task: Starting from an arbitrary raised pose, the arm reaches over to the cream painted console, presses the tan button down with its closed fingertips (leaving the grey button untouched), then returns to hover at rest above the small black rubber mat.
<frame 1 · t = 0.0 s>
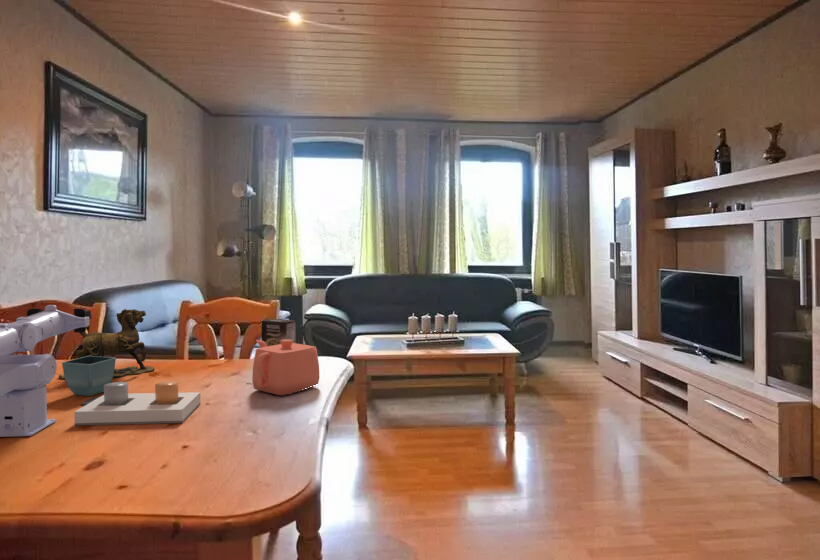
hand: (72, 314, 125), 22 cm above the table, tool horizontal, fingers open, 7 cm apart
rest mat: (99, 401, 127), on the table
console: (141, 414, 118), on the table
grey button: (116, 393, 117), point 5 cm above the table, slide at 0.0 cm
tan button: (166, 392, 118), point 5 cm above the table, slide at 0.0 cm
figurine: (108, 375, 155), on the table
coffee box: (278, 370, 164), on the table
teapot: (279, 388, 143), on the table
flower pot: (90, 394, 134), on the table
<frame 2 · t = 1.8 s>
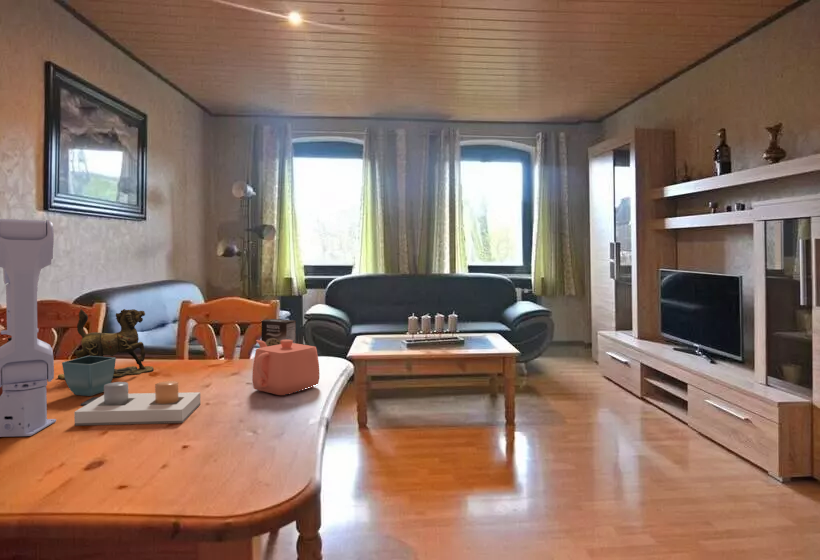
hand: (23, 368, 120), 9 cm above the table, tool pointing down, fingers open, 5 cm apart
nothing on the table moved.
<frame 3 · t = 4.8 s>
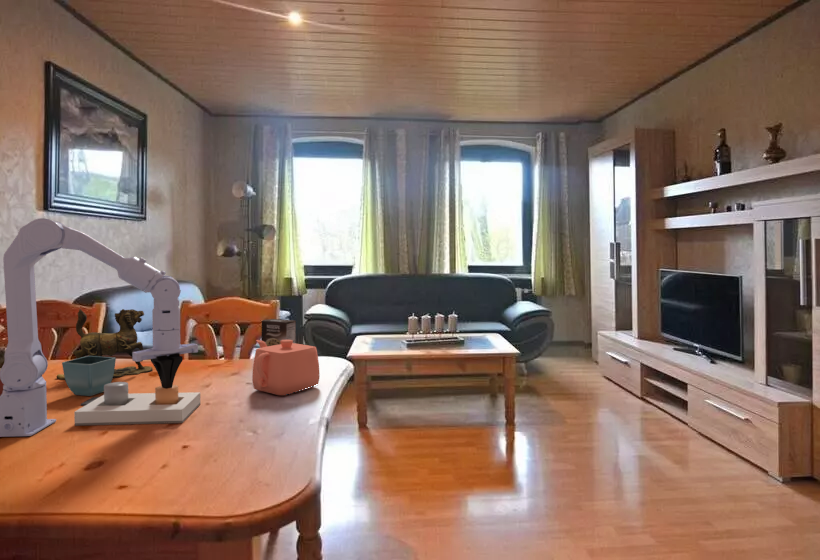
hand: (167, 387, 118), 6 cm above the table, tool pointing down, fingers closed, pressing on tan button
tan button: (166, 395, 118), point 4 cm above the table, slide at 0.9 cm, touching gripper
everything else where it was.
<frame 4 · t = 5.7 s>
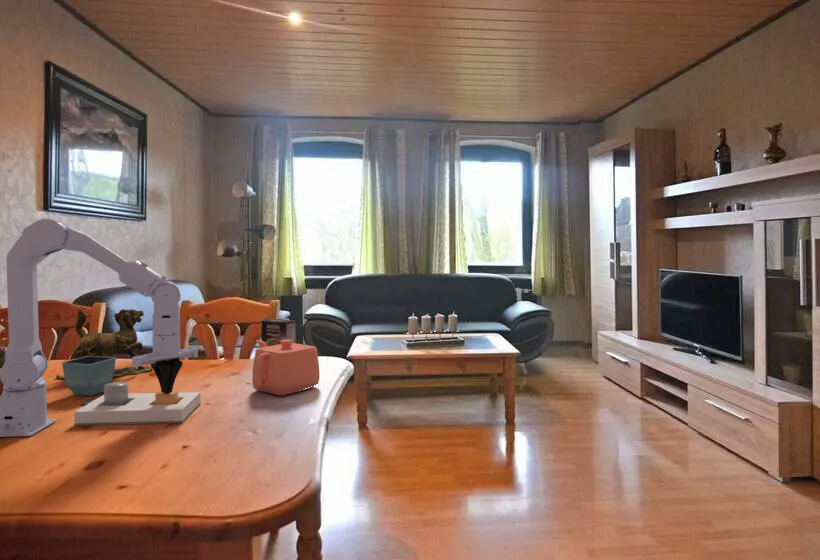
hand: (166, 392, 118), 5 cm above the table, tool pointing down, fingers closed
tan button: (167, 401, 118), point 3 cm above the table, slide at 2.2 cm
everything else where it was.
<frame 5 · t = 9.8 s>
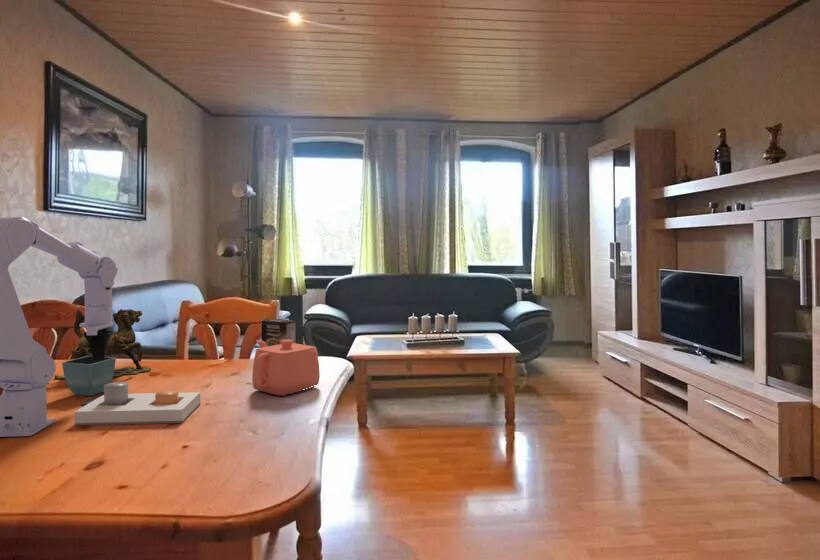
hand: (99, 360, 126), 10 cm above the table, tool pointing down, fingers closed
at the end: tan button slide at 2.2 cm; grey button slide at 0.0 cm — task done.
